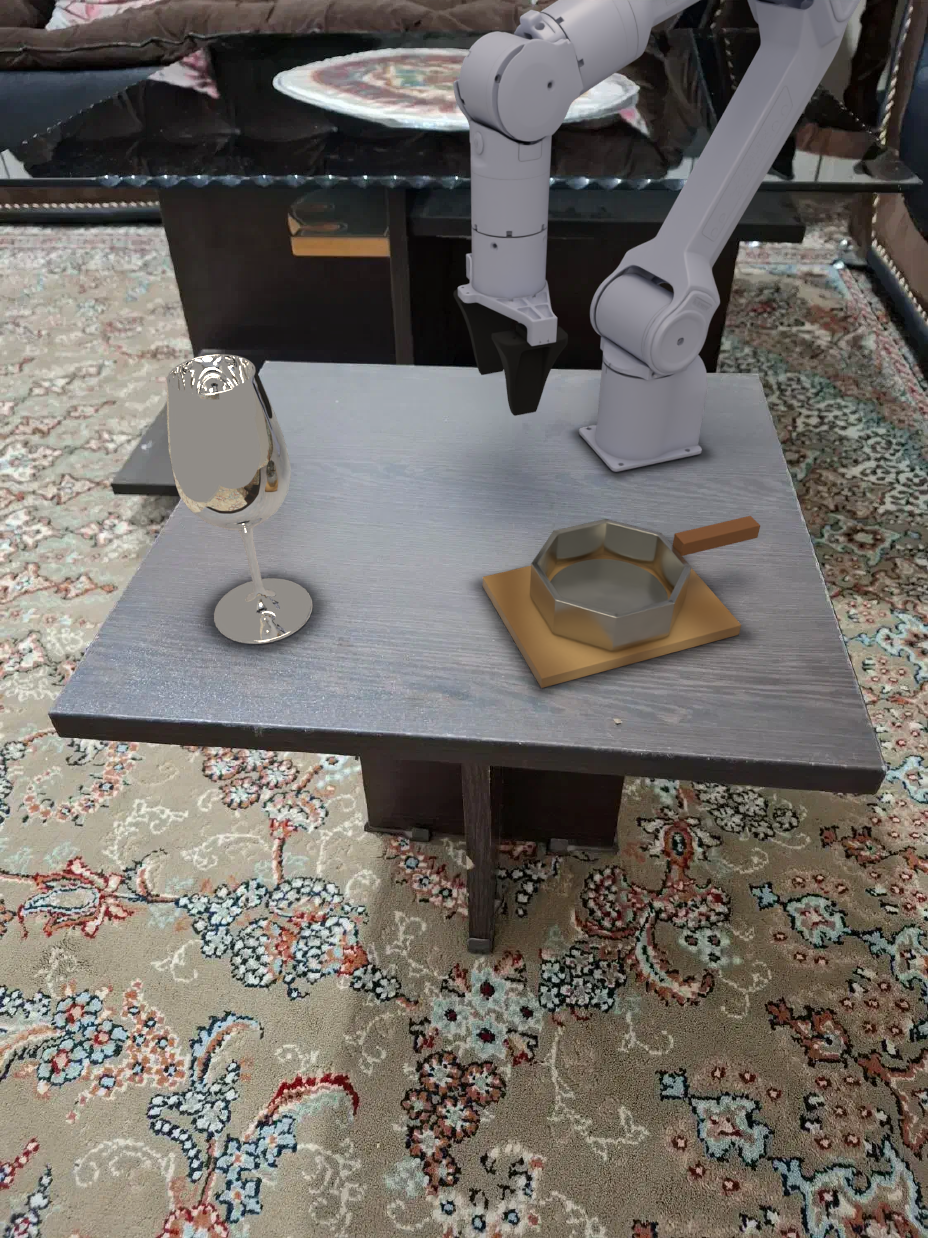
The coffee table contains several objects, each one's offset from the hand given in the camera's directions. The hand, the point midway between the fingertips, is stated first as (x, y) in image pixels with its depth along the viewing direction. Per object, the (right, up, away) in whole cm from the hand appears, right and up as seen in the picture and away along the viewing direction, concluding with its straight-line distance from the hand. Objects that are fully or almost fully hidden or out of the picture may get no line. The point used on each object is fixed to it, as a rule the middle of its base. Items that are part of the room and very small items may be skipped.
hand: (506, 391), depth 76 cm
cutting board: (+7, -19, -7) cm, 21 cm away
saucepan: (+10, -17, -7) cm, 21 cm away
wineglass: (-19, -19, -6) cm, 28 cm away
